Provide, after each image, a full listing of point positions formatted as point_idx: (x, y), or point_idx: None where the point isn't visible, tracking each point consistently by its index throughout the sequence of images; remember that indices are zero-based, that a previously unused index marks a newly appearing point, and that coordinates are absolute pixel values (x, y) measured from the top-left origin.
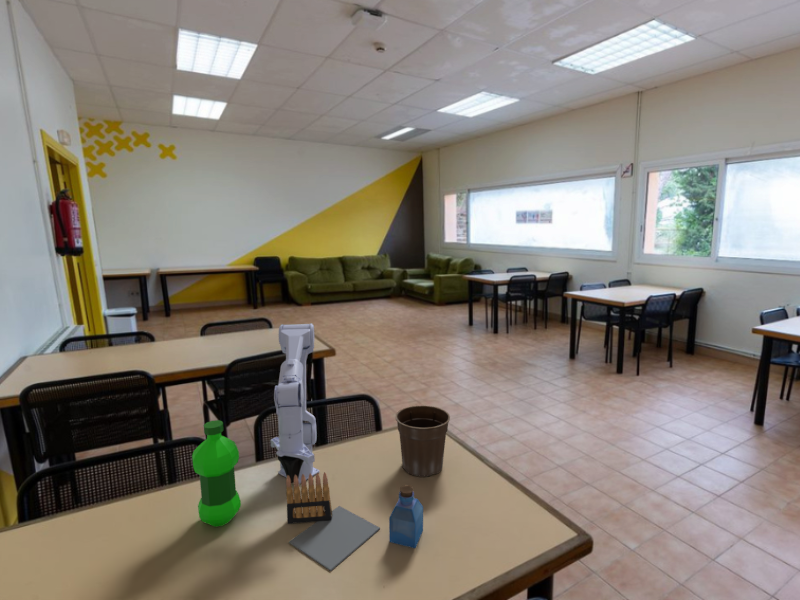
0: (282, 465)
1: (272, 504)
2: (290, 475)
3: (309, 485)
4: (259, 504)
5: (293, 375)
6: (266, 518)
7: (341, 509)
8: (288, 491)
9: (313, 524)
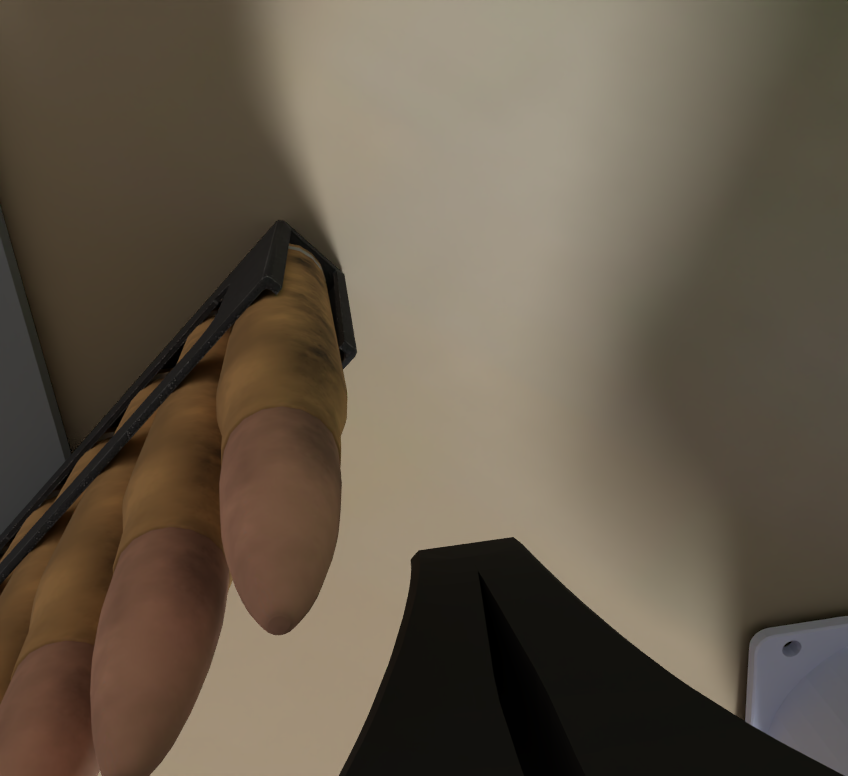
0: (772, 754)
1: (708, 279)
2: (397, 660)
3: None
4: (830, 173)
5: None
6: (552, 95)
7: None
8: (236, 384)
9: (43, 408)
